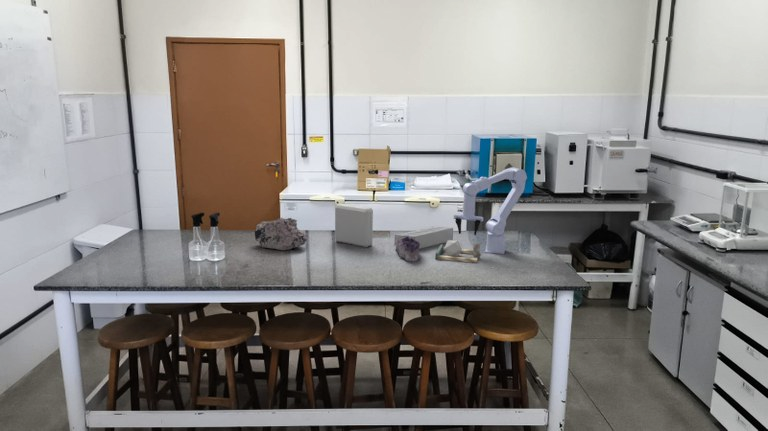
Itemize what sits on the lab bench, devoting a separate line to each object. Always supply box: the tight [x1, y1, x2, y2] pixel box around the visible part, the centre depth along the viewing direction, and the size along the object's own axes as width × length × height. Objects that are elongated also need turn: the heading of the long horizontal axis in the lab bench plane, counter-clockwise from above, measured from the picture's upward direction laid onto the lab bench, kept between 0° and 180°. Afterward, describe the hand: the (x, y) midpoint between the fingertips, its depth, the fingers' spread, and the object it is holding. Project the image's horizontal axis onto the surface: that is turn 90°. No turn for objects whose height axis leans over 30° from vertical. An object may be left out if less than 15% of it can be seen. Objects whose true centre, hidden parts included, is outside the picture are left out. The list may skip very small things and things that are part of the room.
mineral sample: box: [254, 217, 307, 251], centre depth 286 cm, size 27×19×15 cm
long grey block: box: [394, 226, 454, 250], centre depth 298 cm, size 30×14×8 cm, turn 133°
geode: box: [395, 237, 421, 263], centre depth 272 cm, size 20×12×10 cm, turn 12°
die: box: [443, 239, 463, 257], centre depth 274 cm, size 8×9×10 cm
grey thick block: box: [334, 203, 374, 248], centre depth 293 cm, size 21×8×20 cm, turn 58°
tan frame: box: [434, 243, 481, 264], centre depth 274 cm, size 20×16×7 cm
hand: (467, 234), depth 279 cm, fingers open, 7 cm apart
